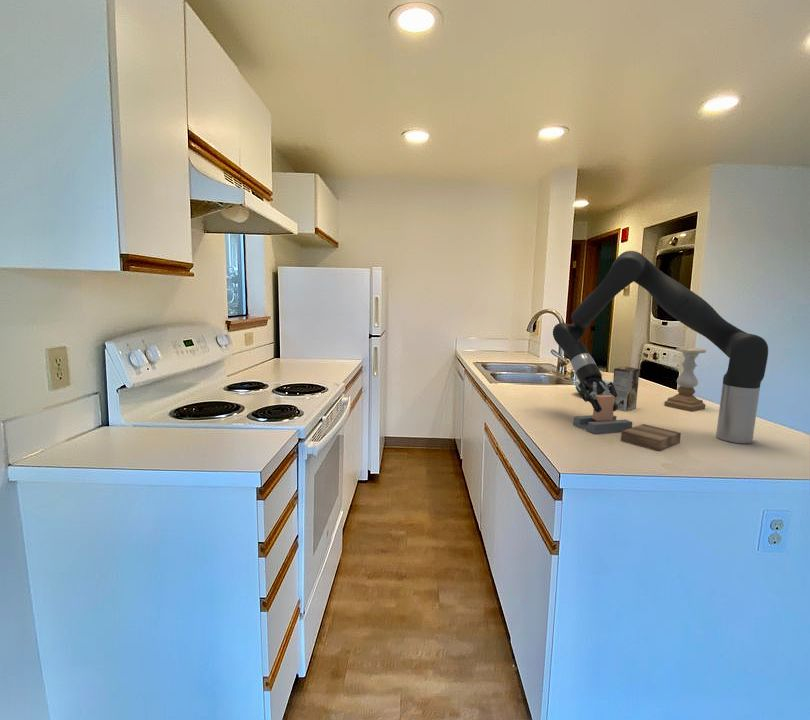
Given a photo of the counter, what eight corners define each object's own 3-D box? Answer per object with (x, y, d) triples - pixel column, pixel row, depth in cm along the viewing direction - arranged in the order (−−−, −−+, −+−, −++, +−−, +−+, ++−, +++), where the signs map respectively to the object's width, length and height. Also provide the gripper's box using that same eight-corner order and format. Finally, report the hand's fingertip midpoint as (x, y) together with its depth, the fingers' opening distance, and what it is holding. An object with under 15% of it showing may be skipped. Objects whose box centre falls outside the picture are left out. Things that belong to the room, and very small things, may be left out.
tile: (607, 417, 149) (609, 394, 148) (612, 419, 147) (614, 396, 146) (592, 418, 147) (594, 395, 146) (597, 420, 145) (599, 397, 144)
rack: (608, 421, 155) (609, 413, 154) (632, 431, 144) (633, 422, 144) (572, 424, 150) (573, 416, 150) (594, 434, 140) (595, 425, 140)
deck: (642, 432, 143) (643, 423, 142) (679, 442, 134) (680, 432, 134) (620, 440, 134) (621, 431, 134) (658, 450, 126) (659, 440, 125)
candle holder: (677, 402, 187) (683, 347, 184) (705, 408, 178) (712, 350, 175) (663, 405, 181) (669, 348, 178) (691, 411, 172) (699, 351, 169)
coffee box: (620, 405, 181) (623, 366, 179) (636, 408, 176) (640, 368, 174) (609, 408, 175) (613, 368, 173) (626, 411, 170) (630, 370, 168)
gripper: (574, 363, 149) (595, 405, 140) (608, 362, 154) (632, 403, 144) (563, 375, 155) (583, 417, 146) (596, 374, 159) (618, 415, 150)
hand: (607, 410), depth 145 cm, fingers closed on tile, 5 cm apart
